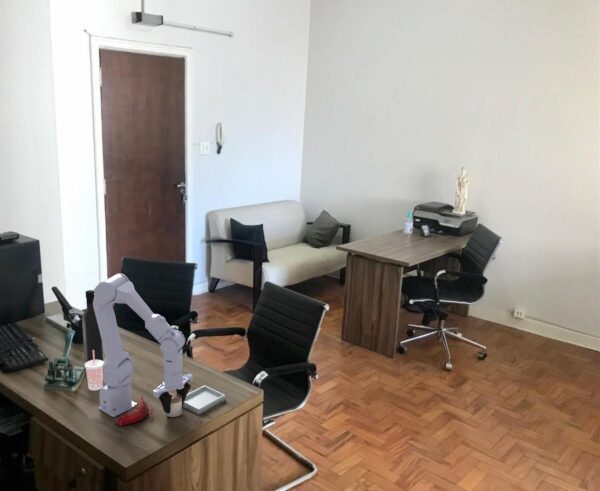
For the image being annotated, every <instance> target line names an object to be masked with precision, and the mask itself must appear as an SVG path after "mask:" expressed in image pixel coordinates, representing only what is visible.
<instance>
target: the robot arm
mask: <svg viewBox="0 0 600 491" xmlns="http://www.w3.org/2000/svg"><path fill="white" fill-rule="evenodd" d="M93 291H94V295H95V296H94V300H93V307H94V311H95V315H96V319H97V323H98V327H99V331H100V335H101V339H102V347H103V350H104V354H105V359H104V360H103V362H104V363H103V383H105V385H103V387H102V388H101V389H99V407H98V409H99V410H101V411H102V412H103V413H105V414H107V415H108V416H111V417H112V418H114V417H118V416H119V415H122V414H124V413H126V412H128V411H129V410H130V409H131V408H132V407H134V406H135V405H136V404H138V402H135V401H133V398H132V397H133V396H132V395H133V394H132V374H133V372H134V371H135V363H134V362H133V360H132V359H131V356H130V353H129V352H127V351H124V347H123V344H122V338H121V335H120V331H119V327H118V323H117V319H116V315H115V314H116V313H115V311H114V307H113V305H114V304H126V305H128V307H129V308H130V309H131V310H132V311H133V312H135V313H136V314H137V315H138V316H139V317H140V318H141V320H143V321H144V324H145V325H144V327H145V329H146V330H148V332H149V333H150V334H151V335H152V336H153V337H154V339H156V341H157V342H158V343H159V344H160V345H159V348H160V351H161V352H162V354H163V382H162V383H161V384H160V385H158V386H157V387H156V388H154V389H153V390H152V396H153V397H155V398H156V399H158V400H159V401H160V404H161V406H162V408H163V409H162V410H163V412H164V413H165V414H166V413H167V414H169V413H170V406H171V400H172V397H173V396H171V395H170V394H171V393H170V392H172V391H174V390H175V393H178V394H180V395H182V406H183V405H184V402H185V398H186V395H187V394H188V393H189V391H190V389H191V384H190V383H188V382H193V381H194V376H193V375H192V374H191V373H187V374H184V372H183V368H184V367H183V347H184V345H185V343H186V337H185V335H184V334H183V332H182V331H180V330H178V329H177V330H176V329H175V328H173V327H172V326H171V325H170V324H169V323H168V322H167V321H166V318H165V317H164V316H162V315H161V314H159V313H154V312H153V311H152V310H151V308H150V307H149V306H148V304H147V303H146V302H145V301H144V300H143V299H142V297H141V296H140V295H139V293H138V292H137V291H136V289H135V286H134V284H133V282H132V281H130V280H129V278H128V277H127V276H126V274H123V273H116V274H114V275H112V276H111V277H109V278H107V279H105V280H103V281H101V282H99V283H98V284H97V285H96V286H95V287H94V289H93Z"/></svg>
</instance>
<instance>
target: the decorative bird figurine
mask: <svg viewBox="0 0 600 491" xmlns="http://www.w3.org/2000/svg"><path fill="white" fill-rule="evenodd" d="M153 411H154V409H153V408H151V410H150V407H149V406H148V403H147V402H145V401H144V397H143V395H141V396H140V401H139V402H137V404H136V405H135V406H134V407H132V408H131V409H129V410H127V411H126V412H124V413H123V414H121V415H120V416H119V417H118V418H117V419H116V420H115V422H116V424H117V425H119V426H125V425H129V424H134V423H136V422H139V421H141V420H143V419H144V418H145V417H147V415H148V417H150V416H151V415H152V414H153ZM148 413H149V414H148Z"/></svg>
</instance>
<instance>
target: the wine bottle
mask: <svg viewBox="0 0 600 491" xmlns="http://www.w3.org/2000/svg"><path fill="white" fill-rule="evenodd" d="M94 296H95V293H94V289H93V290H92V289H89V290H88V289H87V290H86V291H85V300H86V302H85V303H86V310H85V311H84V312H83V313H82V317H81V324H82V338H83V353H84V364H85V363H86V362H88V361H90V360H93V350H94V356H95V360H102V361H103V362H104V351H103V350H104V346H103V342H102V339H101V335H100V331H99V327H98V323H97V319H96V315H95V311H94V307H93V300H94Z"/></svg>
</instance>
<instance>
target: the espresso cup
mask: <svg viewBox="0 0 600 491" xmlns="http://www.w3.org/2000/svg"><path fill="white" fill-rule="evenodd" d="M169 394H170V395H171V396H173V397H172V400H171V406H170V413H169V414H167V413H166V412H165V415H166V417H169V418H176V417H179V416H181V415H182V414H183V407H182V395H180V394H178V393H177V392H172V393H169Z"/></svg>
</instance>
